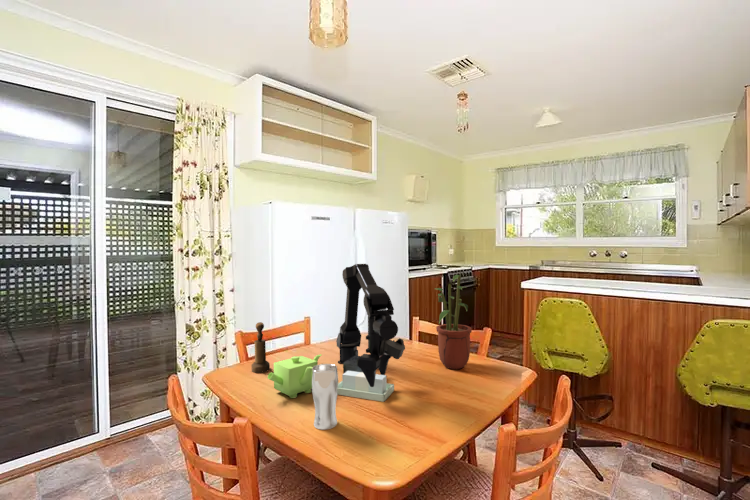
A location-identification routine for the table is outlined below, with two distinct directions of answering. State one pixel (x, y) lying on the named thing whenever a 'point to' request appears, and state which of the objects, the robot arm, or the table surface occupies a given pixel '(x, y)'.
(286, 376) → the kettle
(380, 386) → the white square column
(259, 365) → the dark turned peg
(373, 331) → the robot arm
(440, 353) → the potted plant
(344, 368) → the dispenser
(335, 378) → the beer glass
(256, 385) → the table surface
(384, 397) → the dish
